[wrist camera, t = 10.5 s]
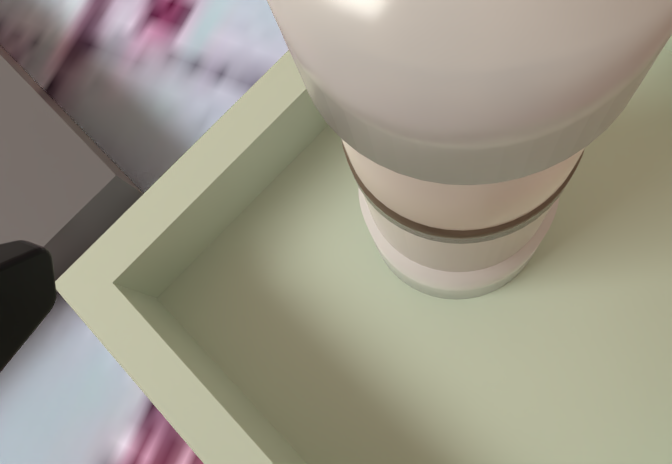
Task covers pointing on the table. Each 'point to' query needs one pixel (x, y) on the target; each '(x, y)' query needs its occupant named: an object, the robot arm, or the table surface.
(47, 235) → the fuse holder
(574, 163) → the cream salt shaker
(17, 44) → the table surface
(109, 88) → the table surface
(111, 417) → the table surface
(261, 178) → the tray
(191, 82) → the table surface
